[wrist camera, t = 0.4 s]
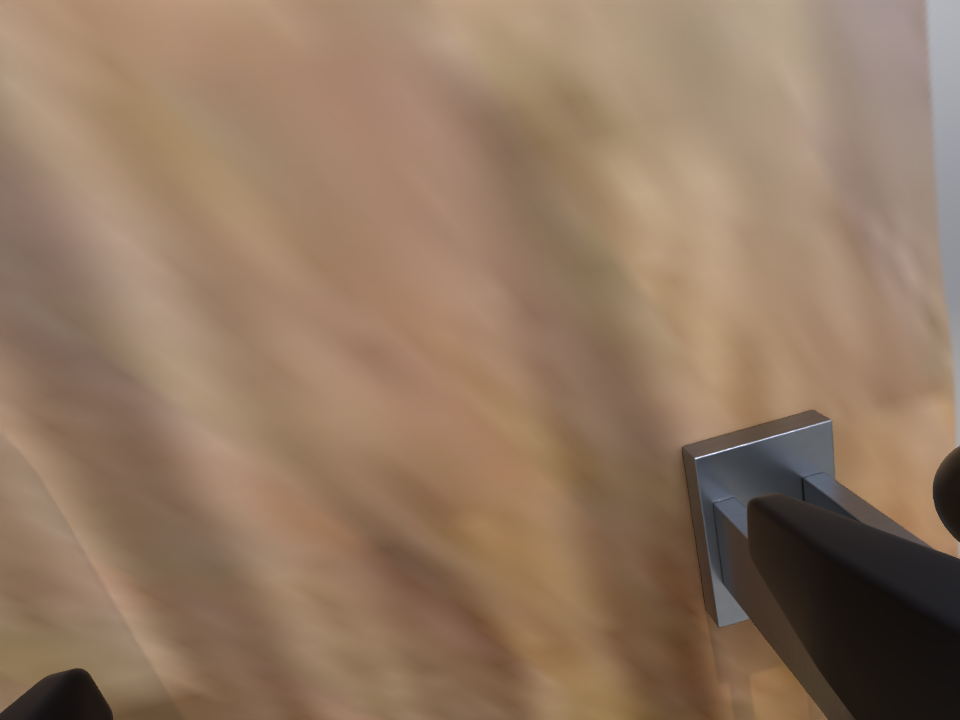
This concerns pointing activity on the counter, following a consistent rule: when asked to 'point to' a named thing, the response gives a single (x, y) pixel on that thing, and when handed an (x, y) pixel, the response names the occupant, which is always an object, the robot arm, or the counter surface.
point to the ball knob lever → (948, 492)
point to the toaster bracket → (723, 525)
